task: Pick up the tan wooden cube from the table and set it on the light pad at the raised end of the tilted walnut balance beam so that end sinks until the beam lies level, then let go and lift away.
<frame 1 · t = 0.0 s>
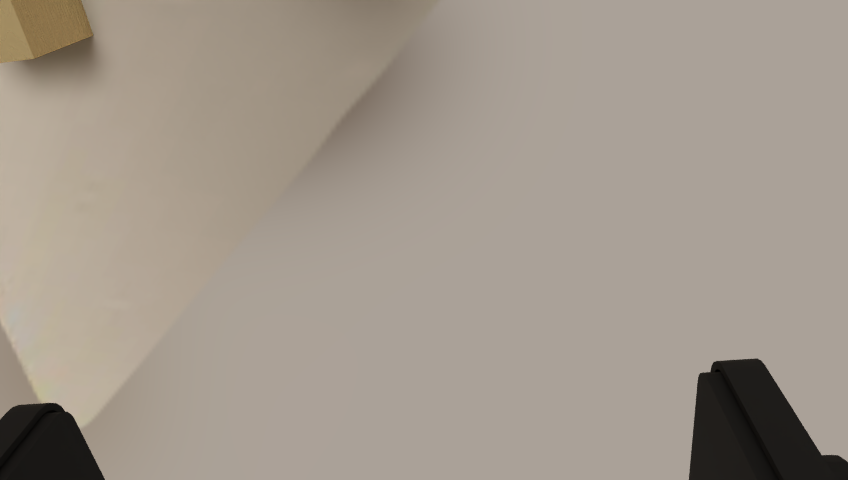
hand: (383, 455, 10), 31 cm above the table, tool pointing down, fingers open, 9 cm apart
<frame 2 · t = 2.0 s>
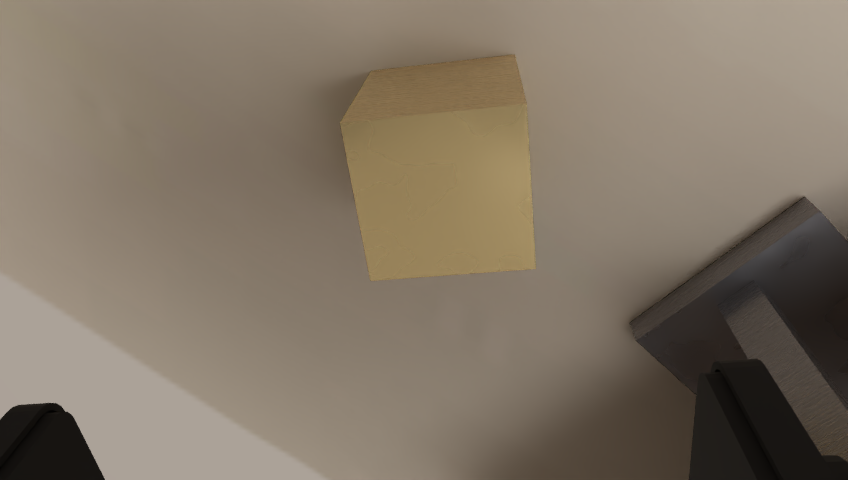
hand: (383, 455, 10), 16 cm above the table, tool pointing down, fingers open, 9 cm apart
tan wooden cube: (449, 131, 24), on the table
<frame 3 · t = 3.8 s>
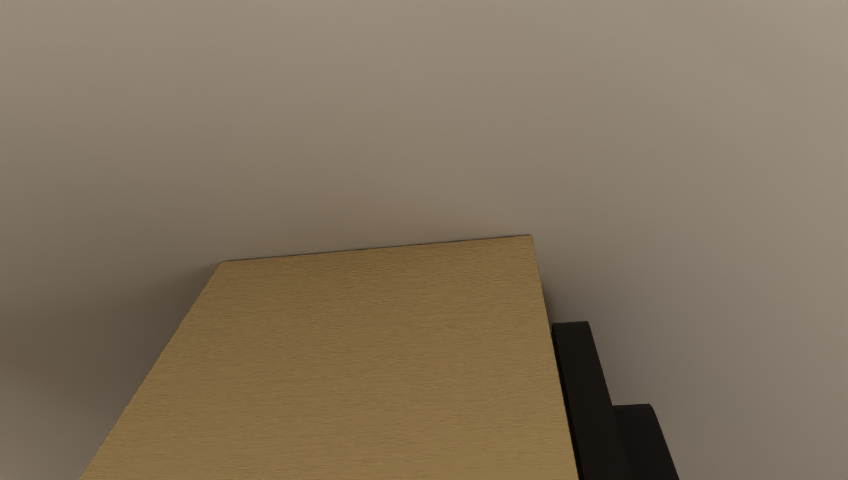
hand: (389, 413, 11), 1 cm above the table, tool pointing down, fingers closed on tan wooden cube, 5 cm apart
tan wooden cube: (395, 372, 11), on the table, touching gripper
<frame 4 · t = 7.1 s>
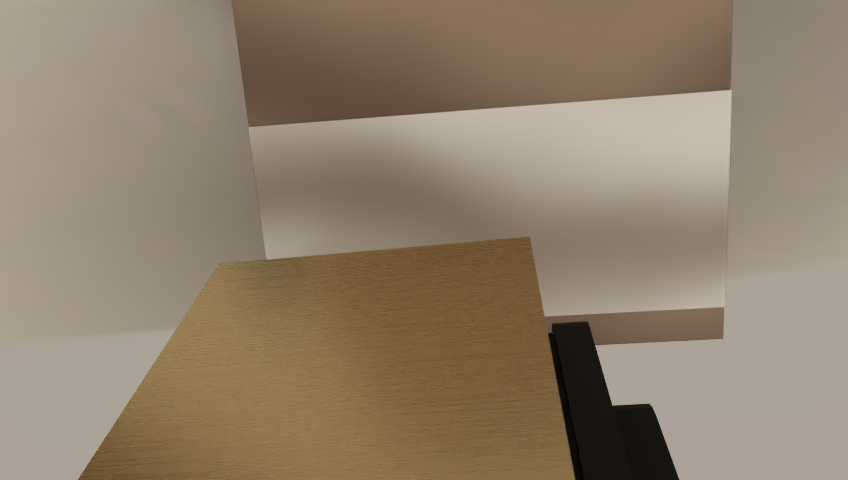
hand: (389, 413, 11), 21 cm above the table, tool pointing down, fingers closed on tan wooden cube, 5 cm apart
tan wooden cube: (394, 373, 11), point 20 cm above the table, touching gripper
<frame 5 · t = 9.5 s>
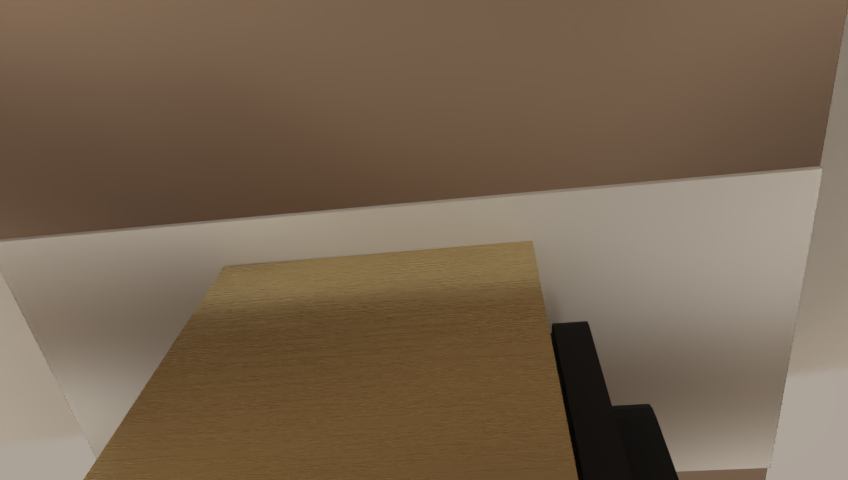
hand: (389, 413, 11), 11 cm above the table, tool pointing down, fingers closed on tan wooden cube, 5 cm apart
tan wooden cube: (396, 377, 11), point 10 cm above the table, touching balance beam, gripper
when the fingers open (11 cm above the table, at t = 10.3 s): tan wooden cube stays where it is, resting on balance beam.
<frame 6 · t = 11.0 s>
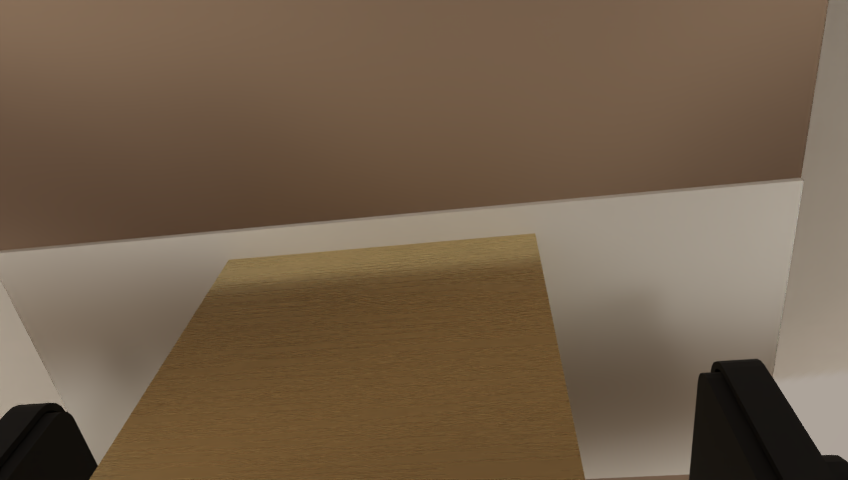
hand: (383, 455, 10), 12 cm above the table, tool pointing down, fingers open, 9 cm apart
tan wooden cube: (400, 368, 12), point 10 cm above the table, touching balance beam
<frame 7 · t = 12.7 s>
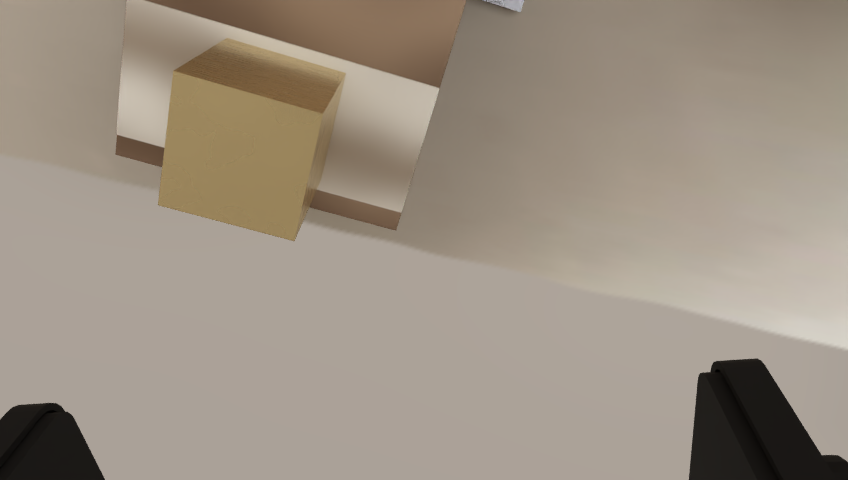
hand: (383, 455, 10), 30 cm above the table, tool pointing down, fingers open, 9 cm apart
tan wooden cube: (276, 112, 28), point 10 cm above the table, touching balance beam
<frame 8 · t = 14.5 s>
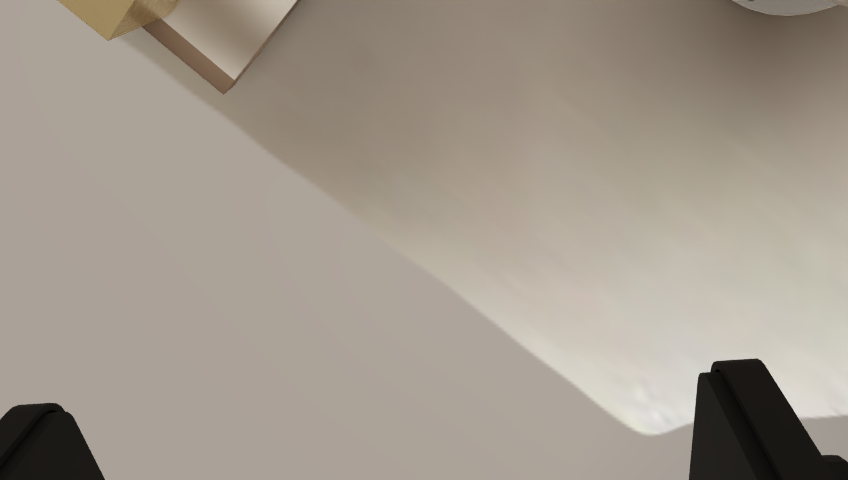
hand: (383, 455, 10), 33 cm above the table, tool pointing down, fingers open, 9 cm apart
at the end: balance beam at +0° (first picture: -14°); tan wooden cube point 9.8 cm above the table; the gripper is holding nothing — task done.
